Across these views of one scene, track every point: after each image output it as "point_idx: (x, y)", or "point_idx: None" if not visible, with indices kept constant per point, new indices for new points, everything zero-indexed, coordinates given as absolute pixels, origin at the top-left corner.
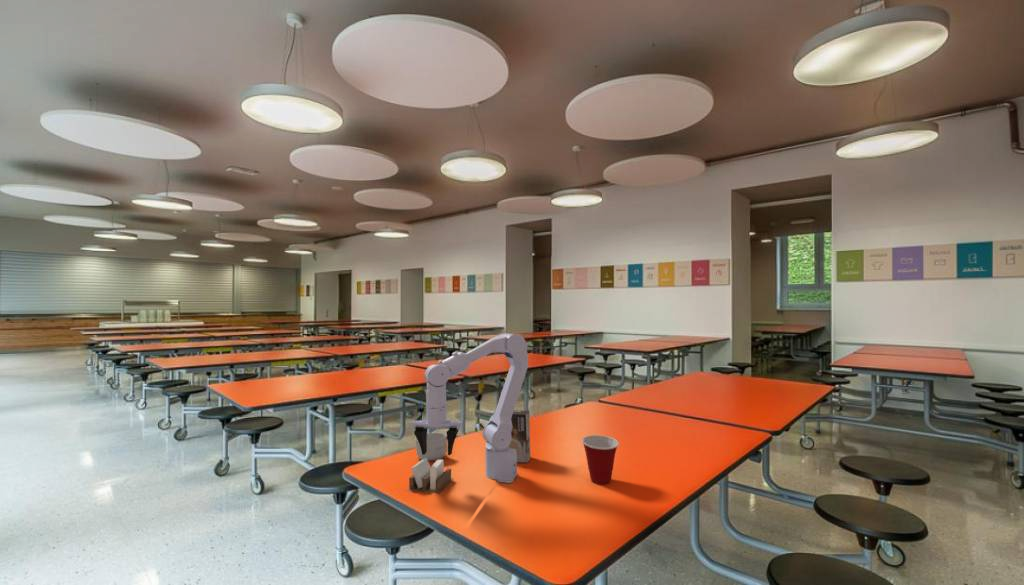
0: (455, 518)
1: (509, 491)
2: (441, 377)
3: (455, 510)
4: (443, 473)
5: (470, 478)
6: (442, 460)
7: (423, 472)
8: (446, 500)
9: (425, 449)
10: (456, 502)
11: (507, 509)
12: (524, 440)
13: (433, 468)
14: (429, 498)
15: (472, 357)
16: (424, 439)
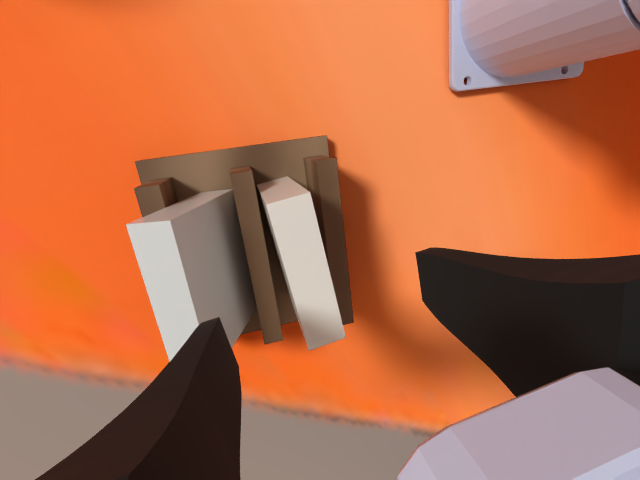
0: (458, 395)
1: (572, 159)
2: None
3: (440, 360)
4: (331, 241)
5: (385, 70)
6: (312, 210)
7: (227, 296)
8: (383, 317)
9: (226, 359)
10: (422, 314)
11: None
12: None
13: (327, 341)
14: None
15: None
16: (219, 454)
